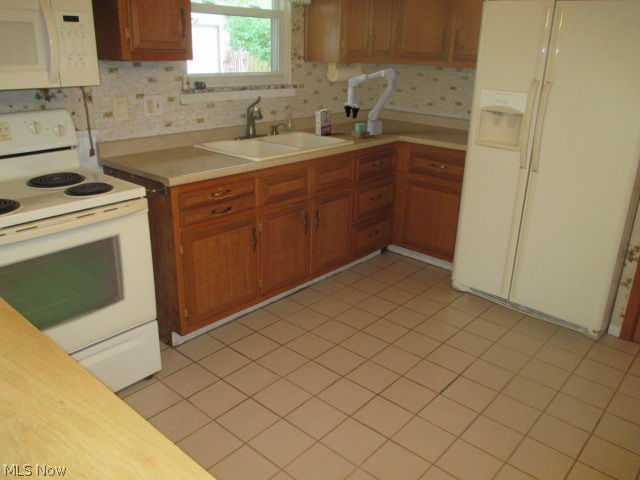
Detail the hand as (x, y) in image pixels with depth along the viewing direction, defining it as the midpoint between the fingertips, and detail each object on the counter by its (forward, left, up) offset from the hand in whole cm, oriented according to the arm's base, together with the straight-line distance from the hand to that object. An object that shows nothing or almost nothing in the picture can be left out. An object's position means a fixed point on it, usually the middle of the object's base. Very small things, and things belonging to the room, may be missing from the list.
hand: (351, 117), depth 359 cm
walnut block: (+3, +15, -11) cm, 19 cm away
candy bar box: (+20, -4, -11) cm, 23 cm away
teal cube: (+3, +16, -7) cm, 17 cm away
